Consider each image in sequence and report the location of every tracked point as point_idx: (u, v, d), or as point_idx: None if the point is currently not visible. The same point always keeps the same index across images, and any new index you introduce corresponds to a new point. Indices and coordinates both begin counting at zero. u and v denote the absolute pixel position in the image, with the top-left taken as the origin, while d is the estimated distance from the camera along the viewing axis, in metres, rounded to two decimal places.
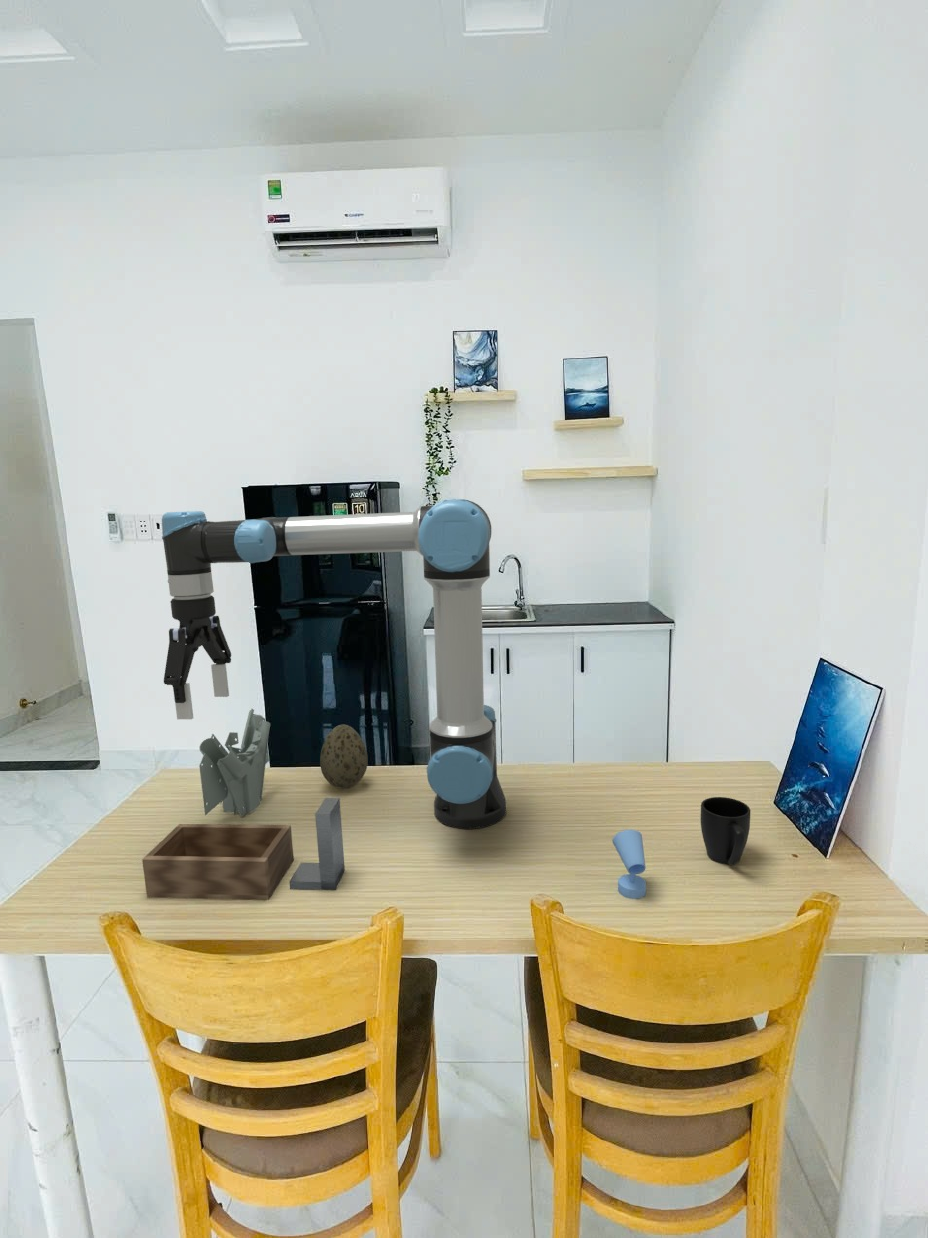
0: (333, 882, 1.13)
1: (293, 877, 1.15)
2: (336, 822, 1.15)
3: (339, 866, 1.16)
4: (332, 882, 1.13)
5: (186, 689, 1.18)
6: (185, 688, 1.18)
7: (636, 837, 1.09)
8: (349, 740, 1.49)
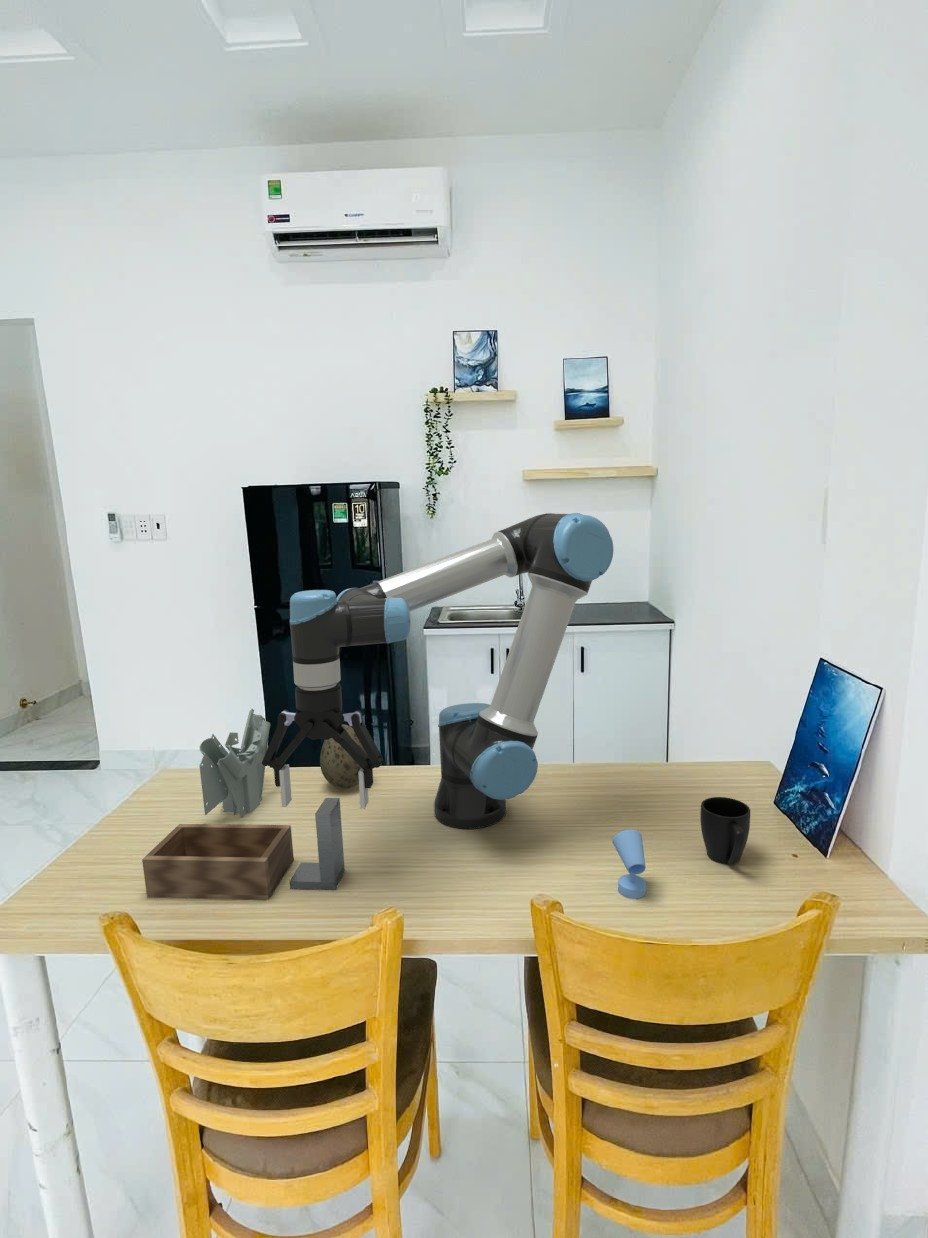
0: (333, 882, 1.13)
1: (293, 877, 1.15)
2: (336, 822, 1.15)
3: (339, 866, 1.16)
4: (332, 882, 1.13)
5: (280, 775, 1.12)
6: None
7: (636, 837, 1.09)
8: None
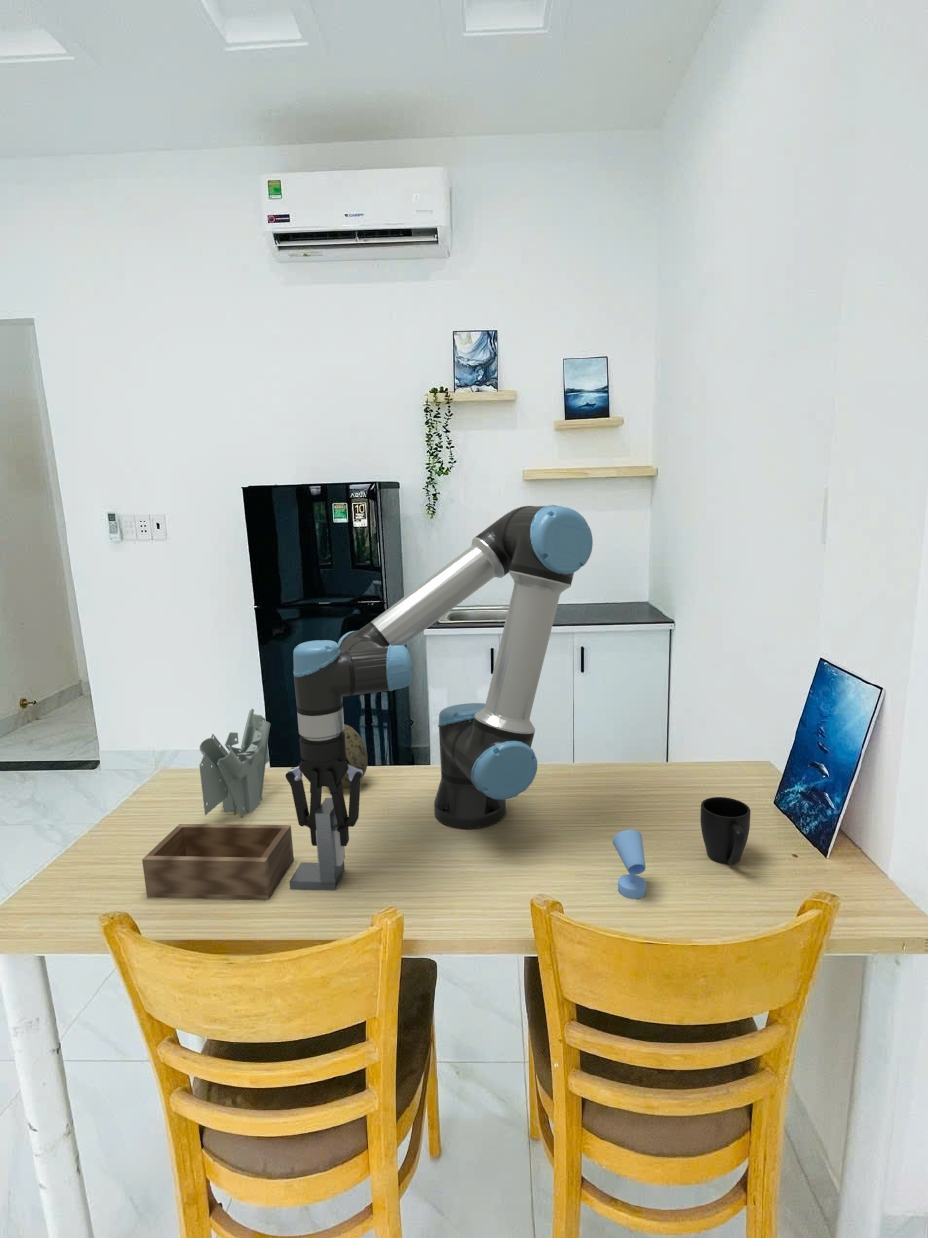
0: (333, 882, 1.13)
1: (293, 877, 1.15)
2: (336, 822, 1.15)
3: (339, 866, 1.16)
4: (332, 882, 1.13)
5: (316, 835, 1.14)
6: (316, 833, 1.14)
7: (636, 837, 1.09)
8: (349, 740, 1.49)
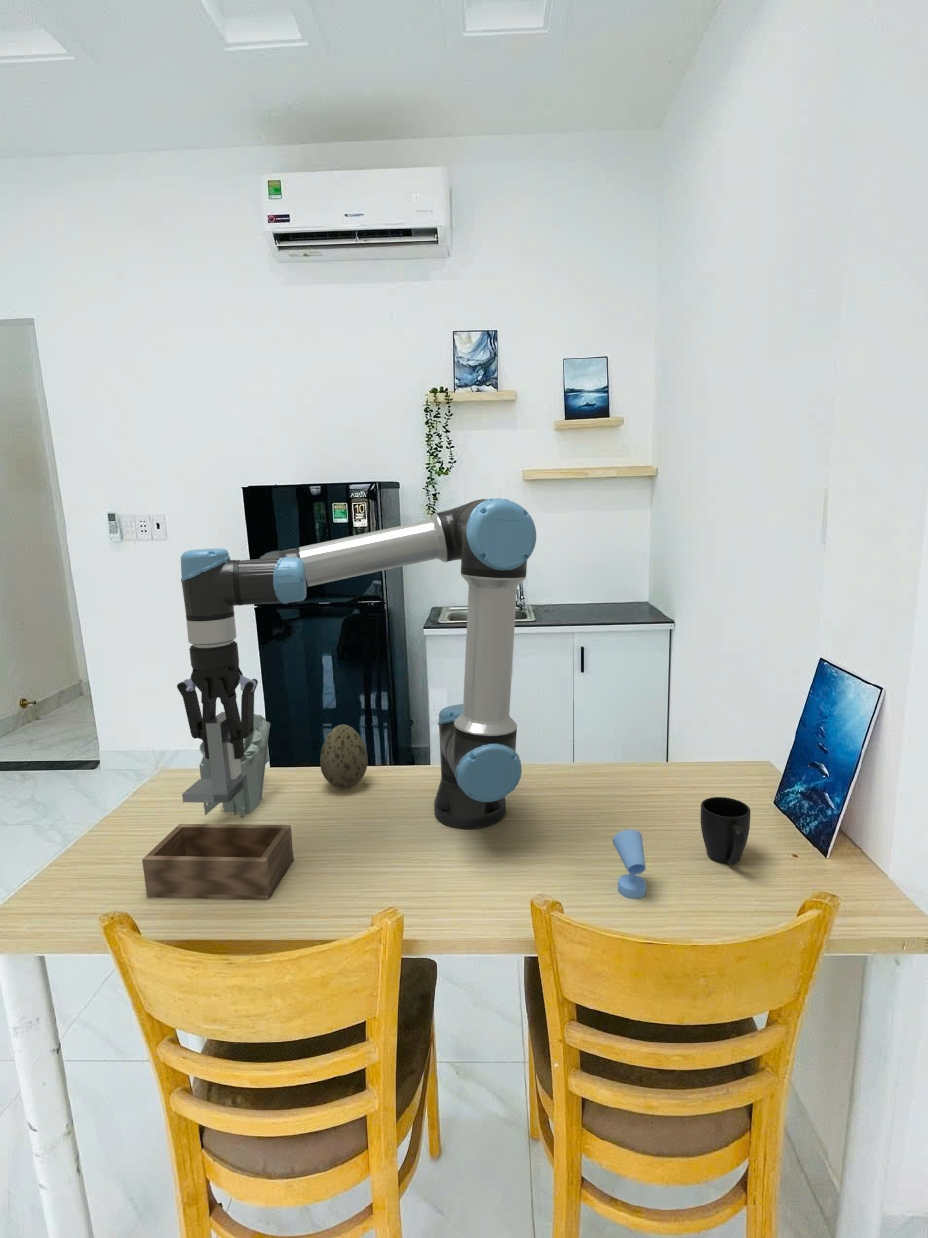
0: (226, 794, 1.12)
1: (187, 791, 1.14)
2: None
3: (234, 780, 1.15)
4: (224, 794, 1.12)
5: None
6: None
7: (636, 837, 1.09)
8: (349, 740, 1.49)
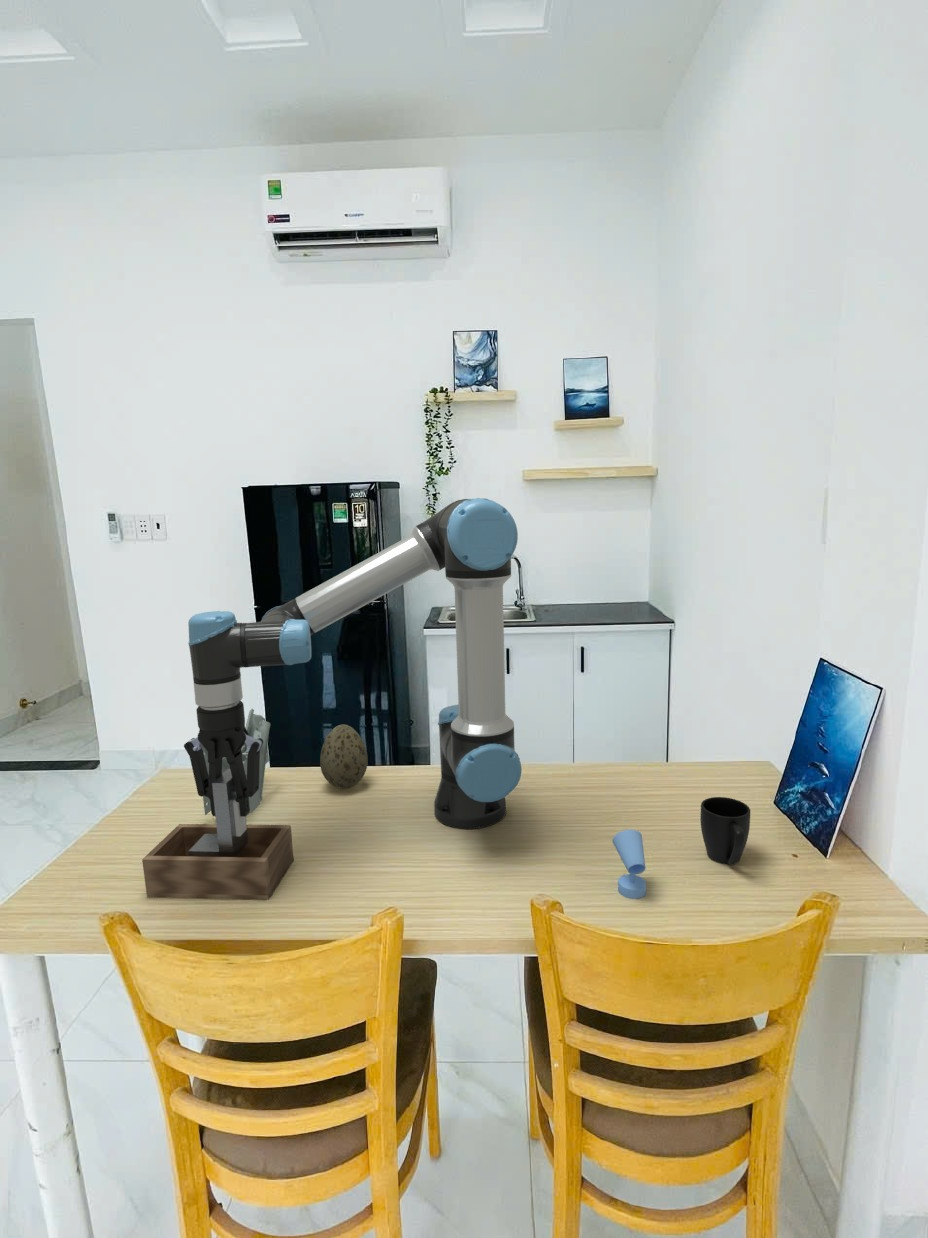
0: (231, 852, 1.14)
1: (193, 847, 1.16)
2: None
3: (240, 837, 1.17)
4: (230, 852, 1.14)
5: None
6: None
7: (636, 837, 1.09)
8: (349, 740, 1.49)
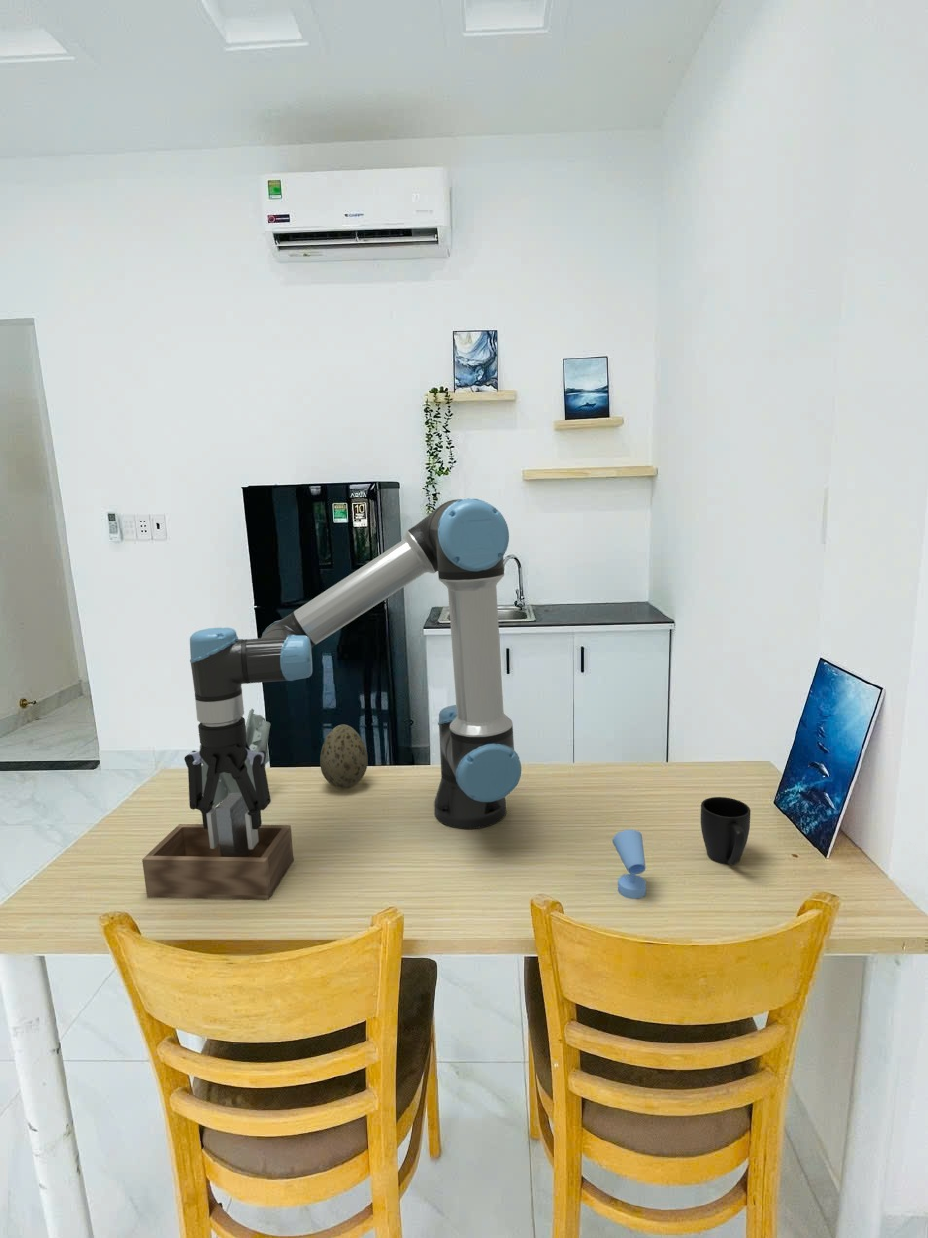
0: None
1: None
2: (239, 816, 1.16)
3: None
4: None
5: None
6: None
7: (636, 837, 1.09)
8: (349, 740, 1.49)
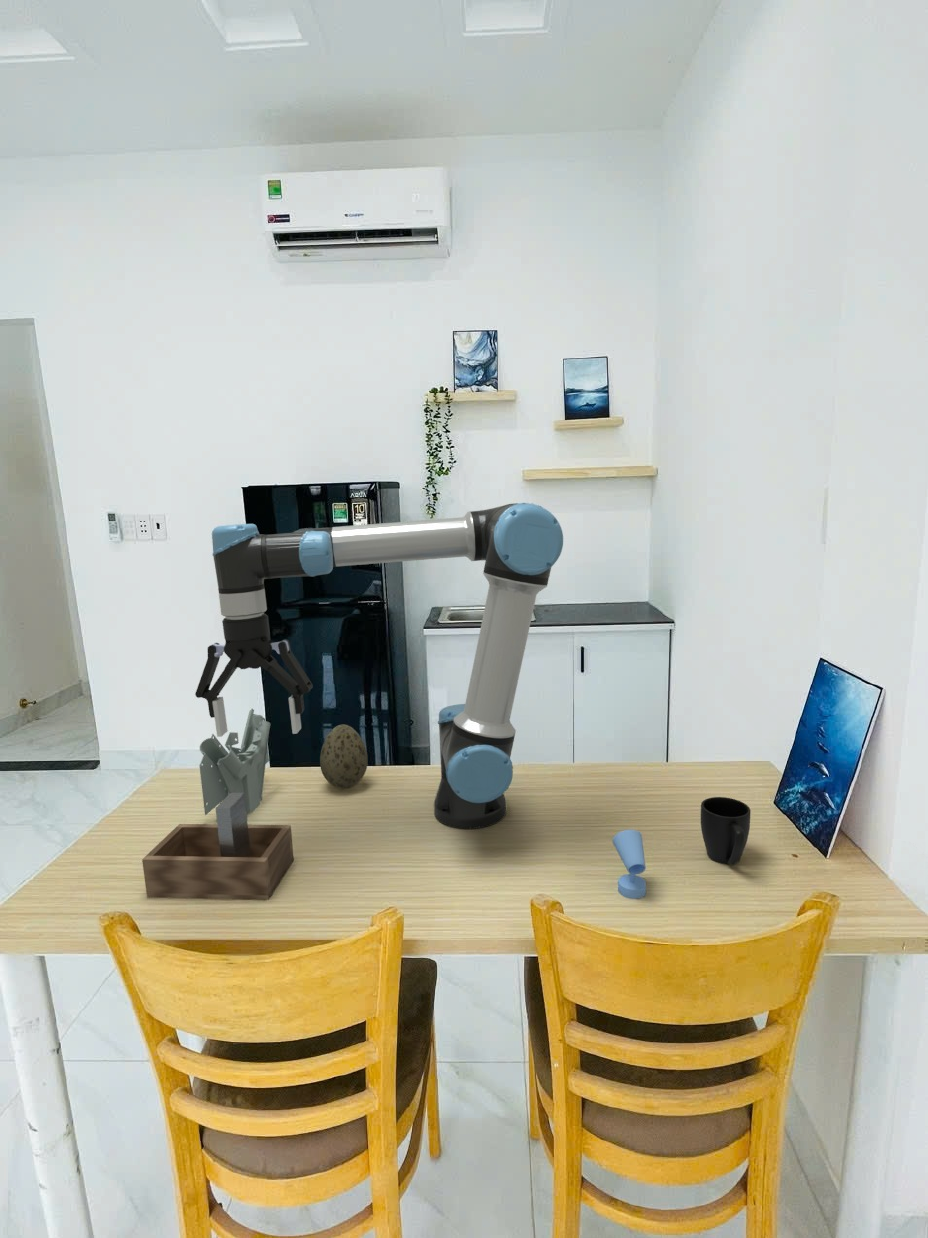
0: None
1: None
2: (239, 816, 1.16)
3: None
4: None
5: None
6: None
7: (636, 837, 1.09)
8: (349, 740, 1.49)
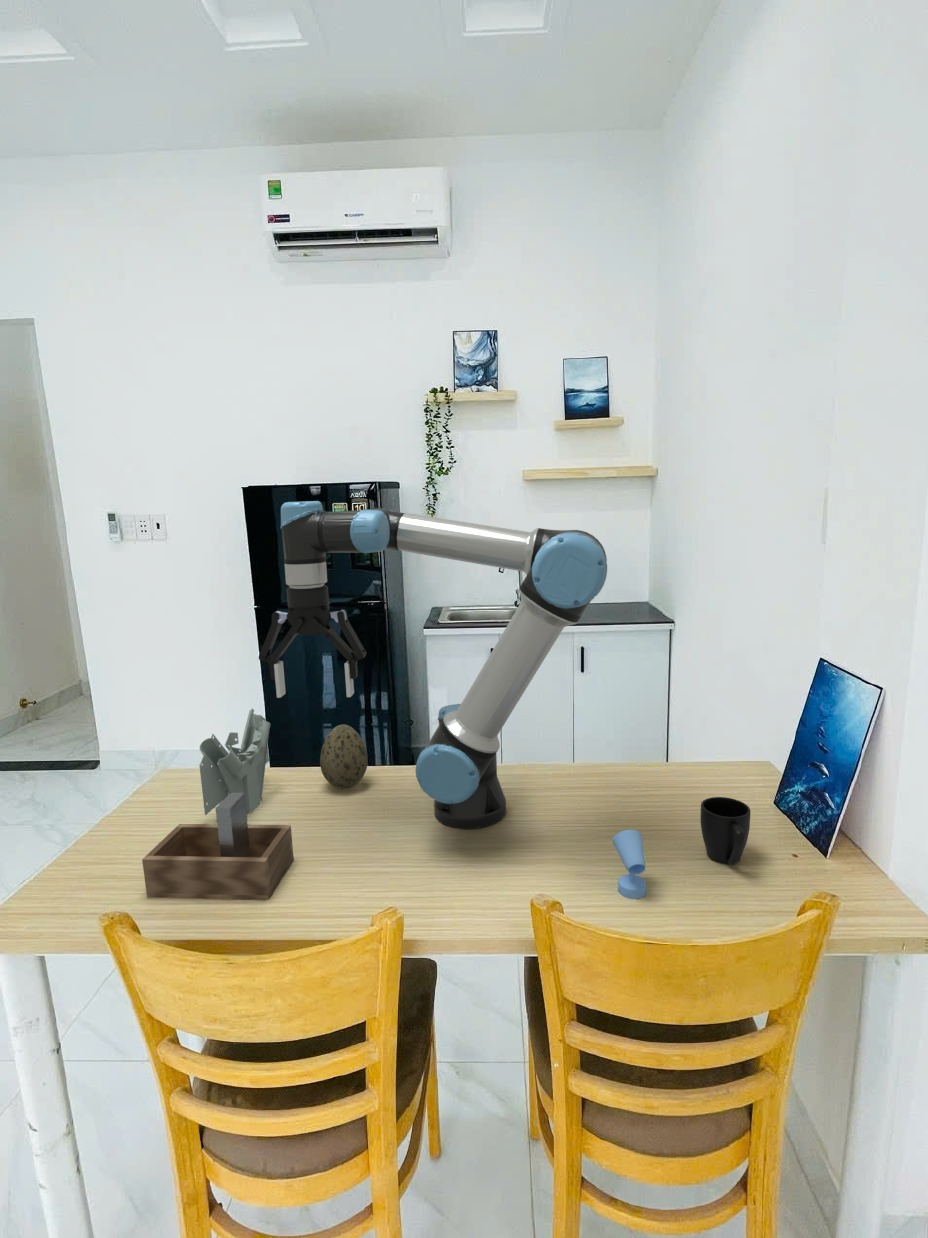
0: None
1: None
2: (239, 816, 1.16)
3: None
4: None
5: None
6: None
7: (636, 837, 1.09)
8: (349, 740, 1.49)
